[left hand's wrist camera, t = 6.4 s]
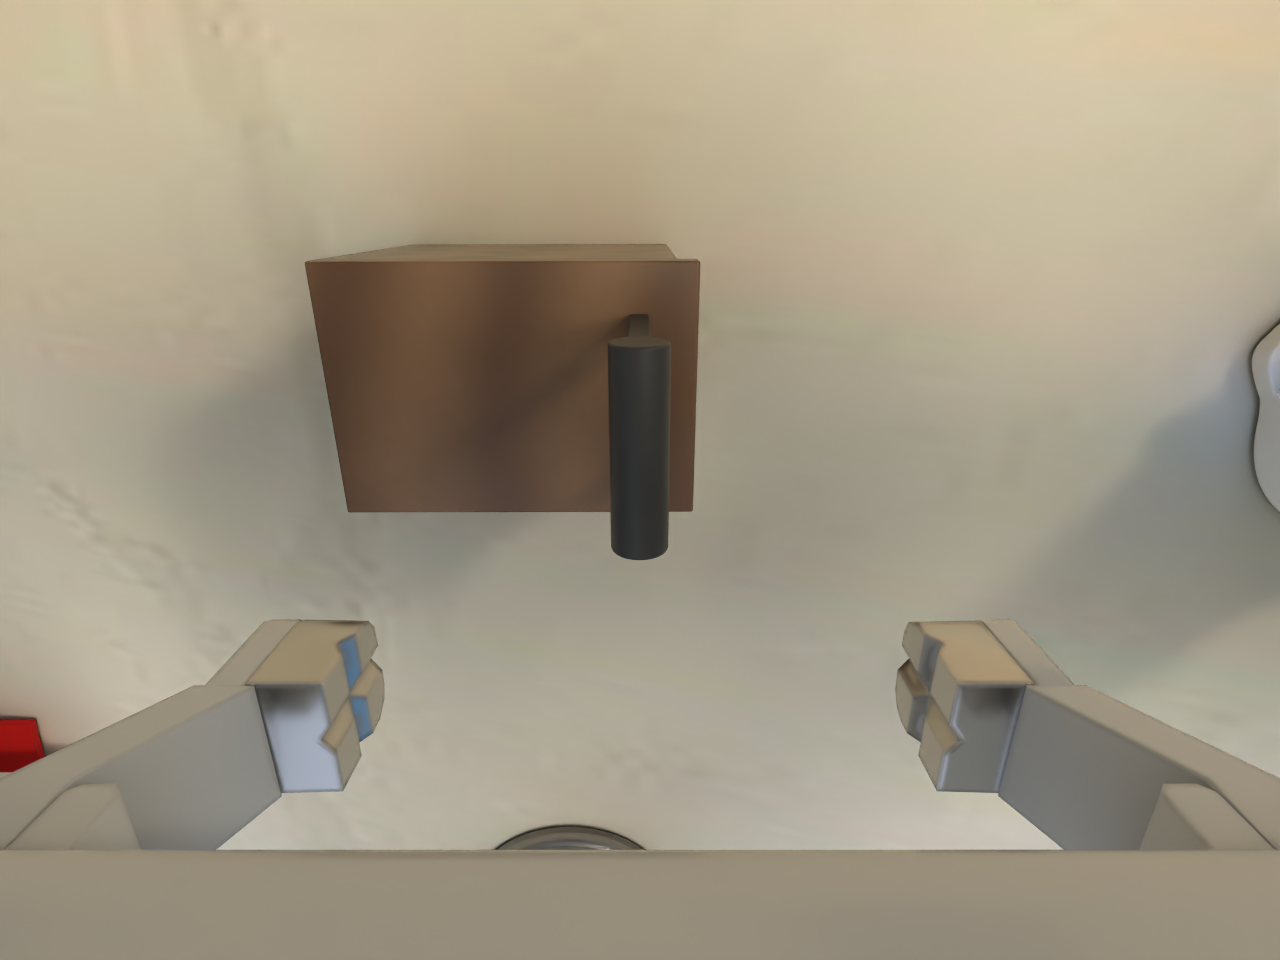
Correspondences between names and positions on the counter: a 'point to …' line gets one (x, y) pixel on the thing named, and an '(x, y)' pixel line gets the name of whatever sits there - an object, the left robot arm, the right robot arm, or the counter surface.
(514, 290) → the lid
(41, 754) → the toy
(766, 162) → the counter surface
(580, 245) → the chest
